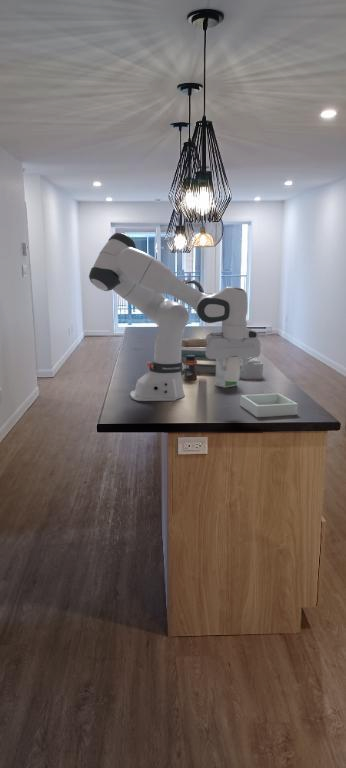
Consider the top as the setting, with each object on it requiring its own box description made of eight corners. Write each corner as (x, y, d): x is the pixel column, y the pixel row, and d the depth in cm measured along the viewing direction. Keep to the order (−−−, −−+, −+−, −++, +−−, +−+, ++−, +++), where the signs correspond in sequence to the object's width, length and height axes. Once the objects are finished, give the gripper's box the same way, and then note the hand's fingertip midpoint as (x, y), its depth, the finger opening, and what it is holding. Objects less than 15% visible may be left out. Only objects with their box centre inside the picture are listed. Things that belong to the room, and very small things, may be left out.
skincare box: (224, 388, 233) (225, 353, 230) (214, 385, 238) (215, 351, 235) (237, 385, 239) (239, 351, 235) (227, 382, 244) (228, 349, 240)
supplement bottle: (196, 377, 254) (196, 354, 251) (197, 380, 248) (197, 356, 245) (183, 377, 253) (184, 354, 251) (184, 380, 248) (184, 356, 245)
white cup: (227, 381, 191) (228, 357, 188) (221, 378, 196) (222, 354, 194) (241, 381, 192) (242, 356, 190) (236, 378, 197) (237, 353, 195)
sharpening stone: (178, 371, 268) (178, 349, 265) (180, 368, 275) (181, 347, 273) (227, 373, 264) (228, 351, 261) (229, 370, 271) (229, 349, 269)
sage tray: (256, 417, 191) (257, 406, 190) (240, 405, 206) (240, 395, 205) (297, 414, 195) (297, 403, 194) (278, 403, 210) (278, 393, 209)
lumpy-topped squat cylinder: (263, 379, 252) (264, 361, 250) (236, 378, 252) (236, 361, 250) (259, 374, 262) (260, 357, 260) (233, 374, 262) (234, 357, 260)
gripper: (209, 334, 184) (207, 372, 188) (263, 333, 189) (261, 371, 193) (203, 331, 190) (202, 369, 193) (256, 330, 195) (254, 367, 199)
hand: (232, 370), depth 193 cm, fingers closed on white cup, 6 cm apart
